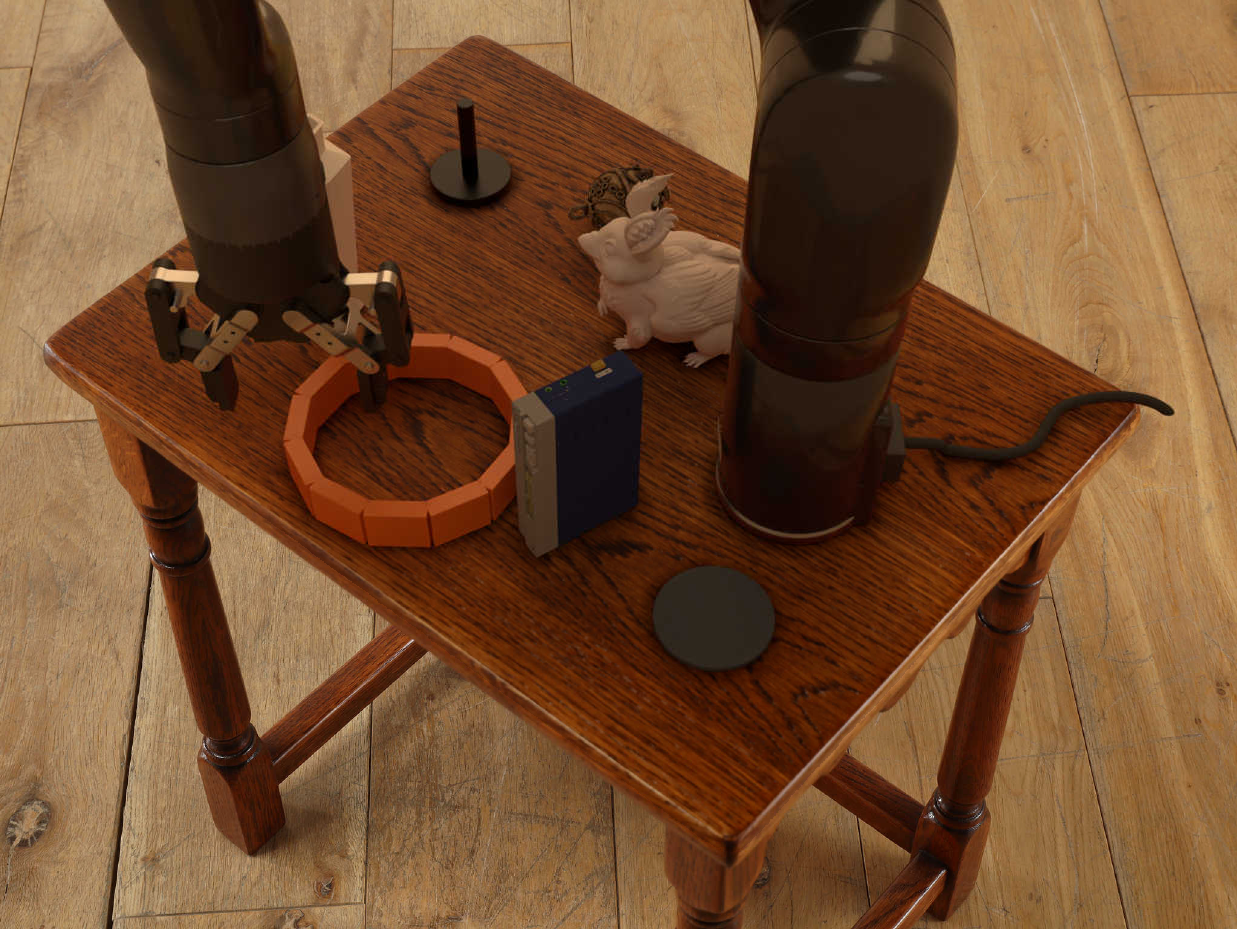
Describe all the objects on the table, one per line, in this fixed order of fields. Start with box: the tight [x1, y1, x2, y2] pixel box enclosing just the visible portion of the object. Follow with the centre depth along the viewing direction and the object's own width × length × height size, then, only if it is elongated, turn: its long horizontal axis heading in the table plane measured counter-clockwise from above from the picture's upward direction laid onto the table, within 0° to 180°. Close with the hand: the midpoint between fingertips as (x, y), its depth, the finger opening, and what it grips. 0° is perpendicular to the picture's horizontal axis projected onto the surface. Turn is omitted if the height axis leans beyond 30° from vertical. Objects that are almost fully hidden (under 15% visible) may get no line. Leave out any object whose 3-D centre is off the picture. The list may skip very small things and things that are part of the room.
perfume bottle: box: [307, 113, 365, 323], centre depth 95 cm, size 5×4×15 cm
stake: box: [428, 97, 513, 209], centre depth 106 cm, size 6×6×7 cm
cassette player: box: [511, 349, 644, 559], centre depth 85 cm, size 7×2×12 cm, turn 124°
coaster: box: [652, 565, 776, 673], centre depth 85 cm, size 7×7×1 cm
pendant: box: [567, 162, 672, 231], centre depth 104 cm, size 5×8×5 cm, turn 112°
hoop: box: [282, 332, 529, 548], centre depth 91 cm, size 15×15×3 cm
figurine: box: [577, 172, 741, 369], centre depth 94 cm, size 8×15×13 cm, turn 95°
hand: (302, 401), depth 89 cm, fingers open, 8 cm apart
